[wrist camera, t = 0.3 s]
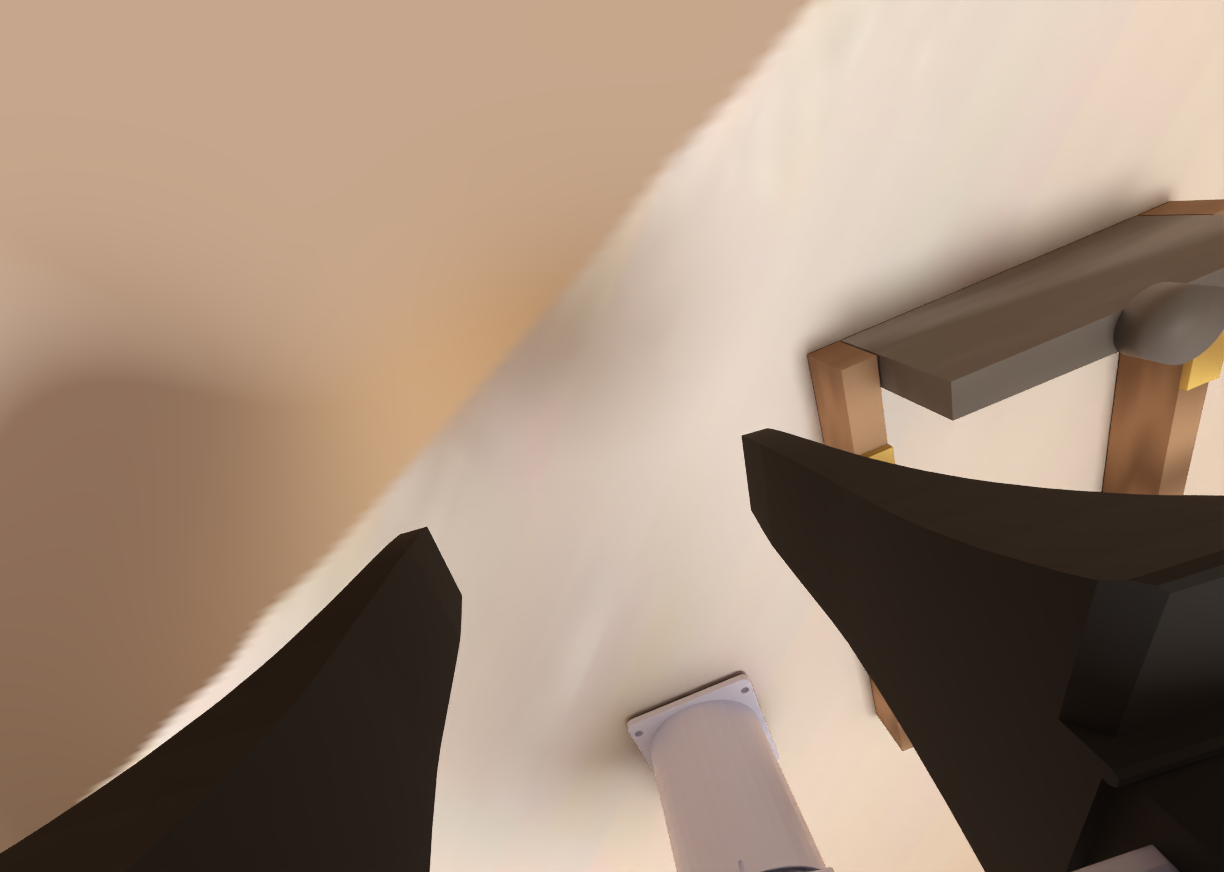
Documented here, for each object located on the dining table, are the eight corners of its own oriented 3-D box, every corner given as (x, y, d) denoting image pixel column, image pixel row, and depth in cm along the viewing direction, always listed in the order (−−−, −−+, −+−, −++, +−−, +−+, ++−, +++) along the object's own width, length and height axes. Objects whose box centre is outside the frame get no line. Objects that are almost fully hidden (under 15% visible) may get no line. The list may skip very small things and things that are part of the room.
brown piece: (1105, 622, 33) (1247, 721, 26) (876, 715, 33) (961, 836, 26) (1172, 190, 20) (1477, 174, 14) (804, 345, 20) (931, 402, 14)
